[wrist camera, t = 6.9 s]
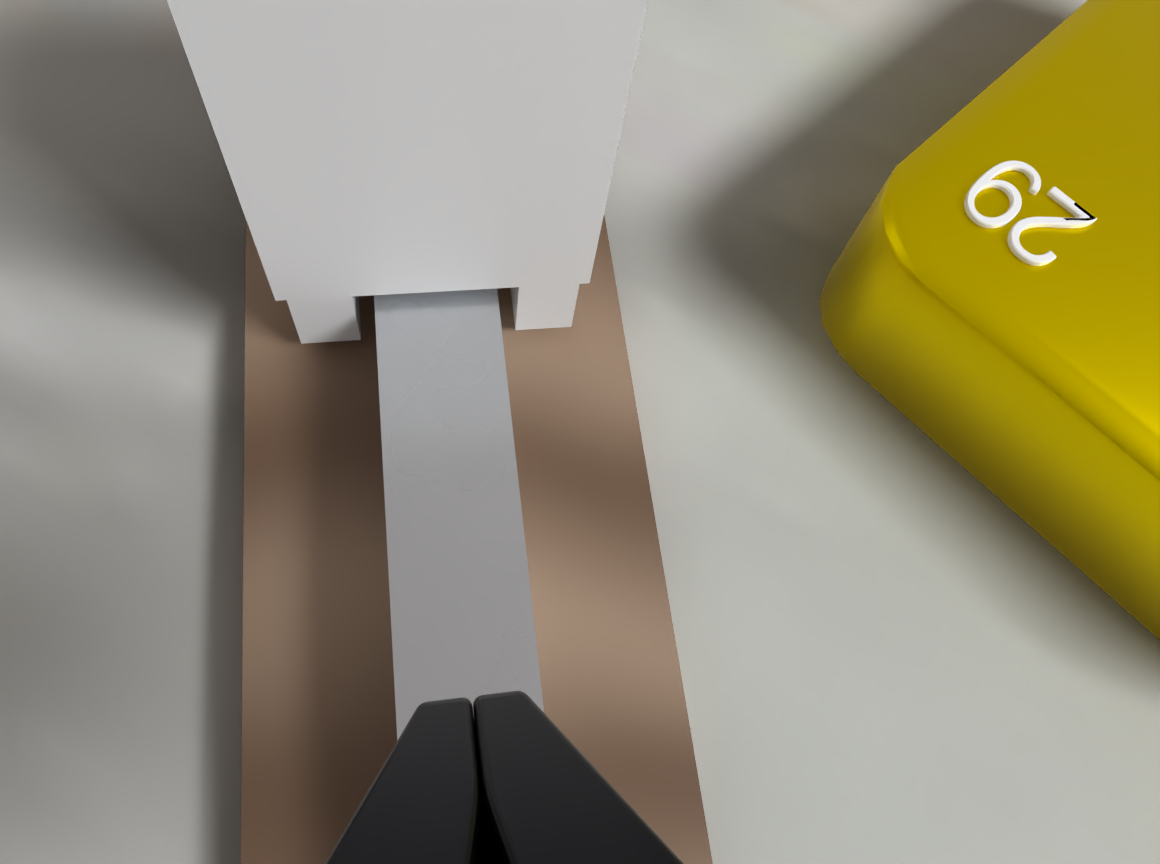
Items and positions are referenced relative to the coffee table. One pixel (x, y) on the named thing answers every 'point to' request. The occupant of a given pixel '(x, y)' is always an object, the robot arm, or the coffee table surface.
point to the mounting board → (361, 580)
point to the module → (417, 144)
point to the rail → (452, 502)
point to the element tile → (1033, 293)
